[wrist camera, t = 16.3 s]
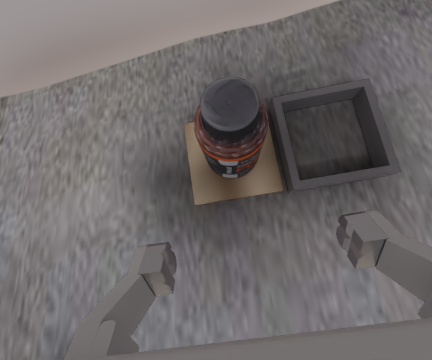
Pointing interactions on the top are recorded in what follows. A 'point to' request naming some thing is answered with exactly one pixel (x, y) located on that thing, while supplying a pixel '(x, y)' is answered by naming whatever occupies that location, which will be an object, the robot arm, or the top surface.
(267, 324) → the top surface
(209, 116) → the supplement bottle
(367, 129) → the holder
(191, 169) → the coaster
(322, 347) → the robot arm
